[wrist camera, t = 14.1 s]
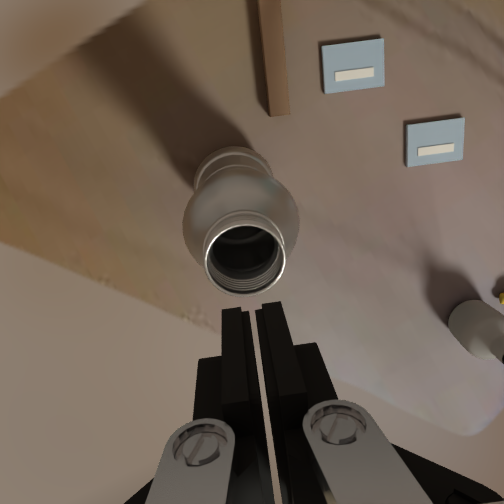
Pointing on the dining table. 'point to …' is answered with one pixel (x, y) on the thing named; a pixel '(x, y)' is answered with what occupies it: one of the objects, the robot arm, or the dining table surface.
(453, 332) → the reed diffuser
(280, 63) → the sill
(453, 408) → the dining table surface
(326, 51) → the label cards
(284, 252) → the plastic bottle
